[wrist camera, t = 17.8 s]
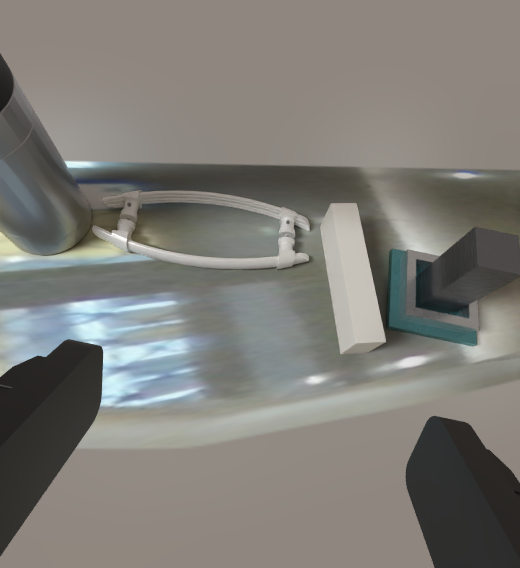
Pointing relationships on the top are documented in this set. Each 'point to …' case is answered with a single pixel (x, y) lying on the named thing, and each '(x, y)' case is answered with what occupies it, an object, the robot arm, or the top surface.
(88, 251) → the top surface
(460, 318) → the keeper
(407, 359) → the top surface
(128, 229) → the door handle
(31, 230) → the robot arm
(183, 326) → the top surface
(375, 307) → the door edge
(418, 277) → the block
